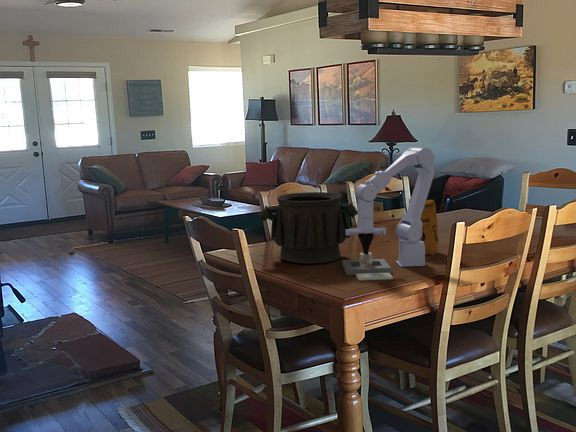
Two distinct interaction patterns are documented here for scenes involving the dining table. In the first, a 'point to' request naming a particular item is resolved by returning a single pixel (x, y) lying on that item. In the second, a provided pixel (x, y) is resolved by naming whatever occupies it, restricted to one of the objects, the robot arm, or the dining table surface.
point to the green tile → (374, 276)
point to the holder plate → (365, 267)
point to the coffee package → (429, 227)
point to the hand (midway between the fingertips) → (365, 253)
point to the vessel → (309, 226)
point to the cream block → (366, 259)
